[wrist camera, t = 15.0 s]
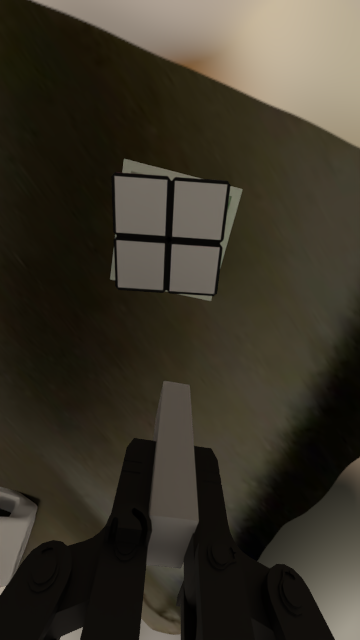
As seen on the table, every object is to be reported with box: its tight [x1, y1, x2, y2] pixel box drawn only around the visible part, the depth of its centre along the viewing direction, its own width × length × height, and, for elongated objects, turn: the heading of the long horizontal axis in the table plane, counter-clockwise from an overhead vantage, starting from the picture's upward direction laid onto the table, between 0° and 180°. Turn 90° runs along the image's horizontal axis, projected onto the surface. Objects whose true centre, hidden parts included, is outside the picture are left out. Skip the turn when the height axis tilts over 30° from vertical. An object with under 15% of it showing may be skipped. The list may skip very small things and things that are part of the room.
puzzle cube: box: [112, 172, 231, 296], centre depth 25 cm, size 10×10×10 cm
